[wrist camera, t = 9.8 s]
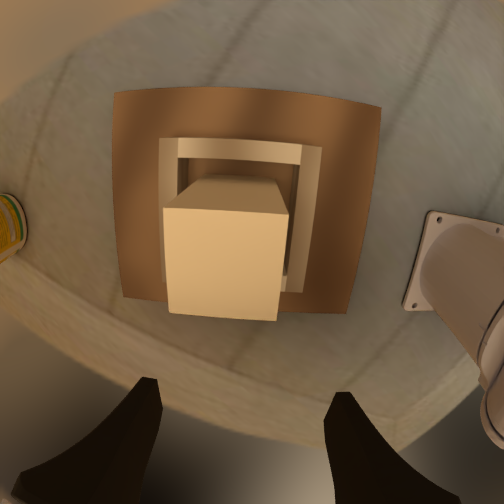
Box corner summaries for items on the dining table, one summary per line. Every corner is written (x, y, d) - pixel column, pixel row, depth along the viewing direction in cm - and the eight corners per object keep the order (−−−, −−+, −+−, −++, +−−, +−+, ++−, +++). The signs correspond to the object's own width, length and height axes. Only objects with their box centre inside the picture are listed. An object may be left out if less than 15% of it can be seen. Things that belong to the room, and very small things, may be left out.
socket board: (375, 108, 16) (399, 104, 12) (342, 306, 21) (355, 335, 18) (121, 94, 15) (94, 88, 12) (128, 290, 21) (109, 316, 18)
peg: (274, 177, 17) (289, 214, 9) (268, 243, 18) (276, 320, 11) (204, 173, 17) (162, 207, 9) (203, 239, 18) (169, 312, 11)
